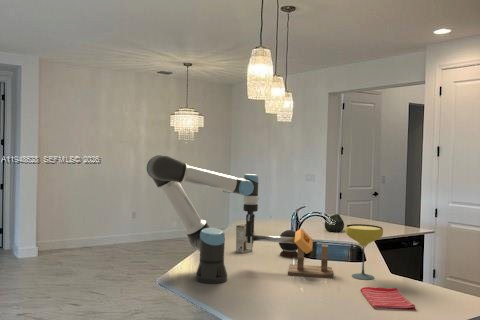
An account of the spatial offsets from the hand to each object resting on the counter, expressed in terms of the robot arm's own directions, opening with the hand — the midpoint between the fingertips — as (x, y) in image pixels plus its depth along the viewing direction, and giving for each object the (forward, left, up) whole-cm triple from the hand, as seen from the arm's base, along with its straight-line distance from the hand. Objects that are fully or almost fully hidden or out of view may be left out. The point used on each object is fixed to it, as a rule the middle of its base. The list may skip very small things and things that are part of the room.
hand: (249, 247), depth 234 cm
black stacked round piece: (+37, -19, -11) cm, 43 cm away
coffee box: (+40, +9, -11) cm, 43 cm away
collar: (0, -31, +2) cm, 31 cm away
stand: (0, -32, -11) cm, 33 cm away
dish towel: (-37, -64, -11) cm, 75 cm away
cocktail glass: (-2, -58, -11) cm, 59 cm away
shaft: (0, -12, +3) cm, 12 cm away
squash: (+132, -49, -11) cm, 141 cm away
